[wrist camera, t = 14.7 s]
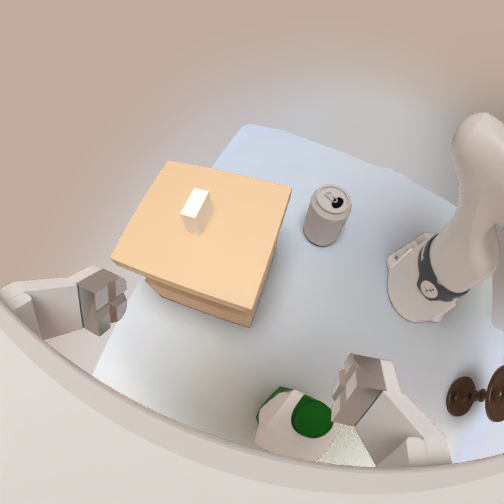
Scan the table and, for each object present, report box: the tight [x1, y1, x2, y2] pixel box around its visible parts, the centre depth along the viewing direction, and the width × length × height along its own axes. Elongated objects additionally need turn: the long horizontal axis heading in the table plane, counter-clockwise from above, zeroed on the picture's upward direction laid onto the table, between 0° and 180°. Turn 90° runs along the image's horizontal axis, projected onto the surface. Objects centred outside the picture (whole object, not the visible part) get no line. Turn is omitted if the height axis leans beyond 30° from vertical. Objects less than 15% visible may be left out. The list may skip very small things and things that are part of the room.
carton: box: [145, 237, 278, 328], centre depth 48 cm, size 16×18×9 cm
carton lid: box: [110, 161, 292, 314], centre depth 34 cm, size 18×20×6 cm
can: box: [303, 184, 351, 246], centre depth 50 cm, size 8×8×12 cm
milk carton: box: [253, 386, 344, 462], centre depth 31 cm, size 9×9×20 cm
